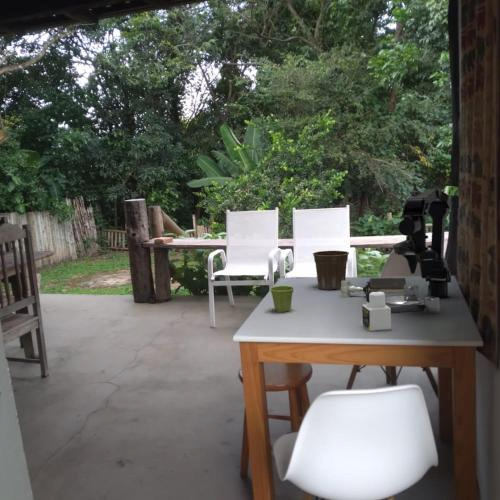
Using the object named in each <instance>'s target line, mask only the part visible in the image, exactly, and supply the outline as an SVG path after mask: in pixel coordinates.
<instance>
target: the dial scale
mask: <svg viewBox="0 0 500 500" xmlns="http://www.w3.org/2000/svg"><path fill="white" fill-rule="evenodd" d="M385 305H387V306H388V307H390V308H391V314H393V313H394V314H395V313H403V312H405V313H406V312H414V311H415V312H416V311H424V300H422V299H420V298H419V297H418V300H414V301H409V300H405V299H404V295H394V296H393V295H392V296H387V297H386V304H385Z"/></svg>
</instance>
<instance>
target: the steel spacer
mask: <svg viewBox="0 0 500 500" xmlns="http://www.w3.org/2000/svg"><path fill="white" fill-rule="evenodd" d="M423 301H424V310H423V311H424V313H426V314H431V313H435V314H439V313H440V298H439V297H433V296H425V297H424V298H423Z"/></svg>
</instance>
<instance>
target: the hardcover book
mask: <svg viewBox="0 0 500 500" xmlns="http://www.w3.org/2000/svg"><path fill="white" fill-rule="evenodd" d="M368 282H370V283H371V285H370V287H371V290H380V291H383V292H385V293H404V285H407V281H406V277H382V278H381V277H377V278H376V277H371V278H370V279H369V281H368ZM371 290H370V291H371Z"/></svg>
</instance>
